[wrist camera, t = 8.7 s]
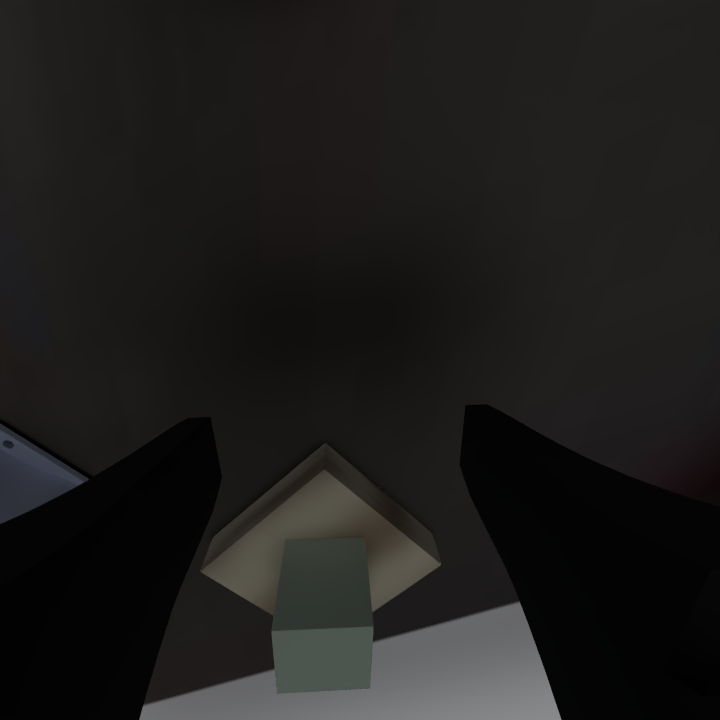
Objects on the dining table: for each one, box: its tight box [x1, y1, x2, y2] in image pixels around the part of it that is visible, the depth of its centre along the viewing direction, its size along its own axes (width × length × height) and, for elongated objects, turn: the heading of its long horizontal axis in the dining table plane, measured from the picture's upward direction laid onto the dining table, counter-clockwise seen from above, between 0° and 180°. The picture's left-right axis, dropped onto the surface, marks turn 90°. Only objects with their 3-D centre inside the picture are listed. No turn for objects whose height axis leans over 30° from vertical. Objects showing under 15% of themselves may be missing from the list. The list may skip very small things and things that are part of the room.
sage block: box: [271, 537, 373, 693], centre depth 20 cm, size 4×4×5 cm
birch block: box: [200, 443, 442, 616], centre depth 24 cm, size 10×10×3 cm
